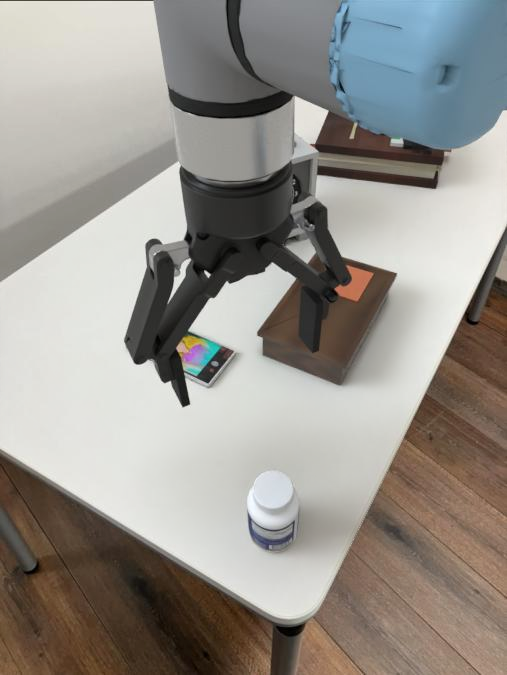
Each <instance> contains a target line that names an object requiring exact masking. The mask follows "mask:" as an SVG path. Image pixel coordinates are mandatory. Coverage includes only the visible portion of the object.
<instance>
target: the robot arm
mask: <svg viewBox="0 0 507 675" xmlns="http://www.w3.org/2000/svg"><path fill="white" fill-rule="evenodd" d="M152 2H153V8H154V14H155V19H156V26H157V34H158V38H159V46H160V51H161V58H162V65H163V70H164V71H163V72H164V77H165V82H166V85H167V92H168V100H169V110H170V115H171V116H170V117H171V124H172V130H173V136H174V144H175V151H176V158H177V161H178V163H179V165H180V167H179V171H178V173H179V181H180V187H181V197H182V203H183V209H184V215H185V221H186V232H185V234H184V236H183V239H182V240H178V241H174V242H169V243H164V244H163V243H162V241H161V240H160V239H158V238H151V239H149V240H148V241H146V243H145V245H144V249H145V263H146V268H145V272H144V275H143V278H142V281H141V285H140V288H139V291H138V293H137V297H136V300H135V304H134V307H133V310H132V313H131V316H130V318H129V322H128V325H127V329H126V332H125V335H124V338H123V342H124V346H125V345H126V346H125V348H126V347H127V348H126V349H127V351H128V353H129V355H130V358H131V359H132V362H133V364H135V365H138V366H141V365H143V364H145V363H147V361H148V360H150V359H153V361H152V362H153V365H154V369H155V371H156V373H157V375H158V377H159V379H160V381H161V382H162V383H163V384H167V383H169V382H170V384H171V388H172V390H173V392H174V393H175V395H176V397H177V399H178V401H179V404H180V405H181V407H182V408H186V407H187V406H190V405H191V401H190V400H191V399H190V394H189V391H188V386H187V379H186V376H185V375H184V370H183V365H182V360H181V356H180V354H179V353H178V351H177V349H176V348H177V346H178V345H179V343H180V342H181V340H182V339H183V337H184V336H185V334H186V333H187V331H188V330H189V331H190V329H191V327H192V325H193V324H194V323H195V321H196V320H197V318H198V317H199V315H200V314H201V312H202V311H203V309H204V308H205V306H206V305H207V303H208V302H209V300H210V299H215V298H216V297H217V296H218V295H219V293H220V292H221V291H222V289H223V288H224V286H225V285H226V283H228V284H229V285H231V284H234V283H237V282H239V281H241V280H243V279H244V278H246V277H248V276H256V275H259V274H262V273H265V272H266V269H267V268H268V267H269V266H270V265H271V264H274V265H275V266H277V267H278V268H280V269H281V270H282V271H284V272H285V273H288V274H290V275H291V276H293V277H294V278H295V279H298V280H300V281H301V282H302V283H304V284H305V286H302V287H301V294H300V313H299V332H298V336H299V337H300V339H301V340H302V341H303V342H304V344H305V345H306V346H307V347H308V349H309V350H310V351H311V352H312V353H315V352H317V351H319V345H320V335H321V325H322V320H324V319H326V318H327V316H328V313H329V304H332V303H334V302H336V301H337V300H338V298H339V294H338V292H337V291H336V290H335V288H336V287H338V286H339V285H341V286H343V287H344V286H347V285H348V284H349V283H350V282H351V281H352V276H351V274H350V272H349V270H348V268H347V266H346V264H345V262H344V260H343V258H342V257H343V256H342V254H341V252H340V250H339V248H338V245H337V244H336V242H335V239H334V237H333V236H332V234H331V232H330V230H329V224H328V223H329V217H328V215H329V214H328V207H327V206H325V205H324V204H323V203H322V202H321V201H320V200H319V199H317V197H316V196H315V197H314V196H313V195H312V194H311V193H309V192H307V191H305V192H303V193H301V194H300V195H299V197H298V203H296V204H294V205H292V180H293V165H292V162H291V158H292V156H293V154H294V133H295V110H296V109H295V104H296V103H295V102H296V100H295V99H296V98H298V99H301V100H302V101H306V102H308V103H309V104H313V105H314V106H317V107H319V108H320V109H323V110H325V111H327V112H328V111H330V112H332V113H335V114H337V115H339V116H342V117H344V118H346V119H348V120H351V121H353V122H355V123H357V124H359V126H360V127H362V128H364V129H366V130H369V131H371V132H373V133H375V134H378V135H379V134H382V133H383V134H385V135H387V136H389V137H393V138H403V139H406V140H409V141H413V142H416V143H419V144H422V145H425V146H428V147H431V148H434V149H441V150H451V149H452V150H455V149H460V148H463V147H466V146H468V145H471V144H473V143H474V142H476V141H478V140H479V139H481V138H482V137H483V136H485V135H486V134H488V133H489V132H490V131H491V130H492V129H493V128H494V127H495V126H496V124H497V123H498V121H499V119H500V117H501V115H502V113H503V112H504V111H507V0H152ZM294 224H297V225H298V226H299V227H300V228H301V229H302V230H304V231H305V233H306V234H307V236H308V240H309V242H310V244H311V246H312V247H313V249H314V251H315V253H317V254H318V256H319V258H320V260H321V262H322V263H323V265H324V267H325V269H326V270H325V271H323V272H322V273H320V274H319V273H318V272H317V271H316V270H315V269H313V268H312V267H311V266H309V265H308V263H307V262H305V260H304V259H302V258H300V256H298V255H297V254H295V252H293V251H291V249H289V248H288V247H286V246H285V245H284V244H285V243H286V241H287V239H289V238H288V236H289V235H290V233H291V231H292V230H293V227H294ZM186 260H190V261H189V263H188V264H187V265H186V268H185V274H184V278H183V280H182V281H181V282H180V284H179V286H178V287H177V288H176V290H175V292H174V293H173V289H174V284H175V278H177V277H179V276H180V275H181V269H182V268H181V267H182V265H183V263H184V262H185V261H186ZM206 273H208V274H209V277H208V276H207V274H206ZM172 293H173V295H172ZM171 296H172V297H171Z"/></svg>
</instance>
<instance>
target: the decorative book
mask: <svg viewBox="0 0 507 675" xmlns="http://www.w3.org/2000/svg"><path fill="white" fill-rule="evenodd" d="M309 144H310V145H311V146H312V147H314V148H315V149H316V150H317V151H319V153H318V166H317V176H325V177H333V178H340V179H350V180H358V181H366V182H367V181H368V182H375V183H383V184H392V185H401V186H408V187H415V188H416V187H418V188H423V189H424V188H425V189H433V190H436V189H437V186H438V182H439V172H442V166H443V164H444V160H445V152H446V153H452V150H453V149H451V150H441V149H434V148H431V147H428V146H425V145H422V144H419V143H416V142H413V141H409V140H406V139H403V138H393V137H389V136H387V135H385V134H383V133H382V134H379V135H378V134H375V133H373V132H371V131H369V130H366V129H364V128H362V127H360V126H359V124H357V123H355V122H353V121H351V120H348V119H346V118H344V117H342V116H339V115H337V114H335V113H332V112H330V111H328V110H327V114H326V115H325V118H324V121H323V122H322V125H321V128H320V131H319V133H318V136H317V138H316V139H315V143H309Z"/></svg>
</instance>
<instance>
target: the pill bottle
mask: <svg viewBox="0 0 507 675" xmlns="http://www.w3.org/2000/svg"><path fill="white" fill-rule="evenodd" d="M300 500H301V499H300V496H299V492H298V490H297V489H296V488H295V486H294V484H293V481H292V480H291V478H290V477H289V476H288V474H286V473H285V472H282V471H279V470H267V471H264V472H262V473H260V474H259V475H258V476H257V477H256V479H255V480H254V482H253V485H252V487H251V488H250V490H249V492H248V494H247V498H246V511H247V523H248V532H249V535H250V538H251V540H252V542H253V543H254V544H255V545H256V547H257V548H259V549H261V550H262V551H265V552H268V553H280V552H284V551H285V550H287V549H288V548H289V547H291V546H292V545H293V544H294V542H295V540H296V539H297V535H298V531H299V519H300V507H301V506H300V505H301V504H300V502H301V501H300Z"/></svg>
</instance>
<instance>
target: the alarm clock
mask: <svg viewBox="0 0 507 675" xmlns="http://www.w3.org/2000/svg"><path fill="white" fill-rule="evenodd" d="M310 144H311V143H308V142H307V141H306V140H305V139H304V138H302V137H301V136H299V134H297V133H296V132H294V154H293V156H292V158H291V162H292V165H293V180H292V205H294V204H296V203H298V197H299V195H300V194H301V193H303V192H305V191H307V192H309V193H311V194H312V195H313V196H314V197H315V198H316V193H317V192H316V190H317V178H318V177H317V176H318V175H317V166H318V153H319V151H317V150H316V149H315V148H314V147H312V146H311V145H310ZM292 237H294V238H295V239H296V240H297V241H298V242H301V241H305V240H309V238H308V236H307V234H306V233H305V231H304V230H302V229H301V228H300V227H299V226H298V225H297V224H294V227H293V230H292V231H291V233H290V235H289V236H288V238H287V239H289V238H292Z"/></svg>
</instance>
